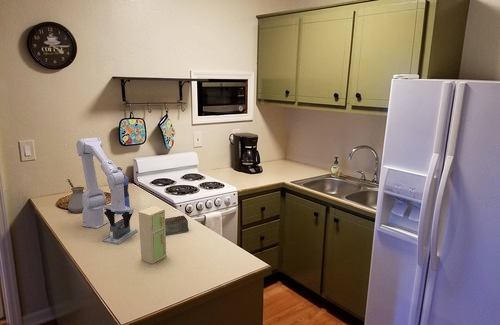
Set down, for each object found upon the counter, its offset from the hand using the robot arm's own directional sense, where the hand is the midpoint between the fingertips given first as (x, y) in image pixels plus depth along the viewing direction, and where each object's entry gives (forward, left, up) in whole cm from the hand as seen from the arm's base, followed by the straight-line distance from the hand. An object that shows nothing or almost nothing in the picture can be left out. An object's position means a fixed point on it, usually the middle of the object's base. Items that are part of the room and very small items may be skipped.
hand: (119, 226), depth 161 cm
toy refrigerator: (+26, -13, -6) cm, 30 cm away
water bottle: (-20, +28, -6) cm, 35 cm away
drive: (0, 0, -5) cm, 5 cm away
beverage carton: (+18, +12, -6) cm, 22 cm away
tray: (0, 0, -5) cm, 5 cm away
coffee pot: (-47, +24, -6) cm, 53 cm away
